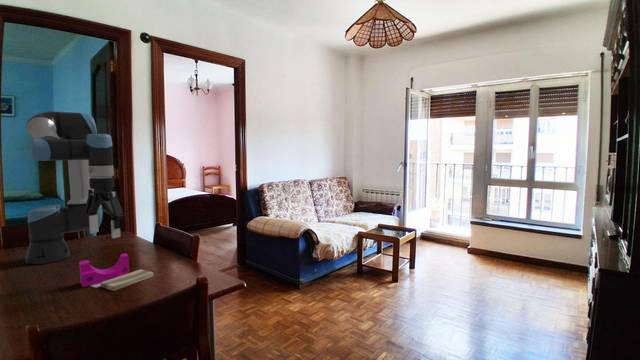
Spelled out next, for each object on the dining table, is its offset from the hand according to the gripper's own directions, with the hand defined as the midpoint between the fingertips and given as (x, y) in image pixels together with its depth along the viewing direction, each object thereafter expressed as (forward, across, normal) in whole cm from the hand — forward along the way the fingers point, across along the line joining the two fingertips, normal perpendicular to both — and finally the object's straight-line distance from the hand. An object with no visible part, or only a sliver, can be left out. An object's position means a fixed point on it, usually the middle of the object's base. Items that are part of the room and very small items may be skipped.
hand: (105, 235), depth 124 cm
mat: (+17, 0, 0) cm, 17 cm away
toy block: (+17, 0, -1) cm, 17 cm away
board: (+17, +9, +2) cm, 19 cm away
